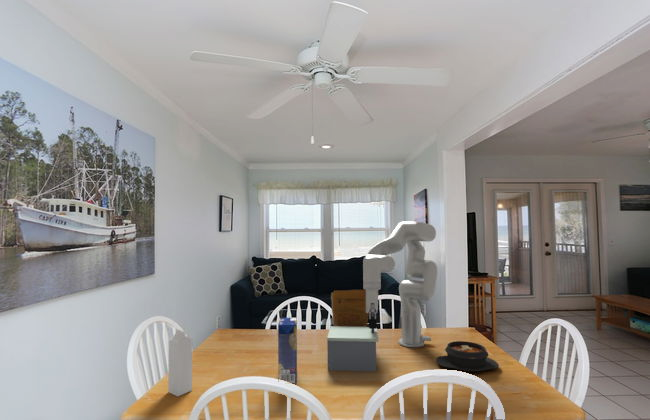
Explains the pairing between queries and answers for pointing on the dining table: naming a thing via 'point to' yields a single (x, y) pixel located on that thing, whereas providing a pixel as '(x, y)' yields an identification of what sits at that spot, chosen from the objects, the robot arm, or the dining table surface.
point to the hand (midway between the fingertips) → (372, 325)
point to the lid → (352, 334)
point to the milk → (180, 364)
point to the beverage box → (287, 349)
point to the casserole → (466, 357)
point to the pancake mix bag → (349, 308)
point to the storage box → (351, 355)
